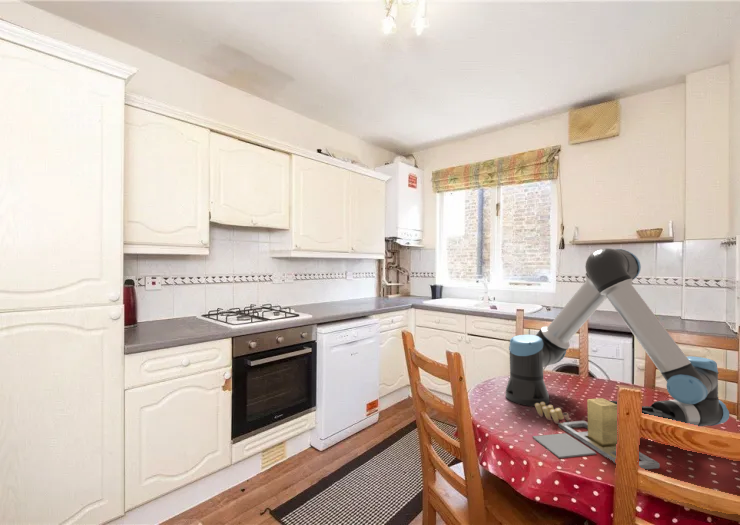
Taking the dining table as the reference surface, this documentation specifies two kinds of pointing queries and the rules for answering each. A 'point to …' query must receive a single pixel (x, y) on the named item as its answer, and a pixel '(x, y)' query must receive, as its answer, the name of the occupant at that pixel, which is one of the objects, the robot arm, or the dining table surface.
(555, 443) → the mat
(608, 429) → the block
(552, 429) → the dining table surface
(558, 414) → the ammunition
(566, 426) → the rail
